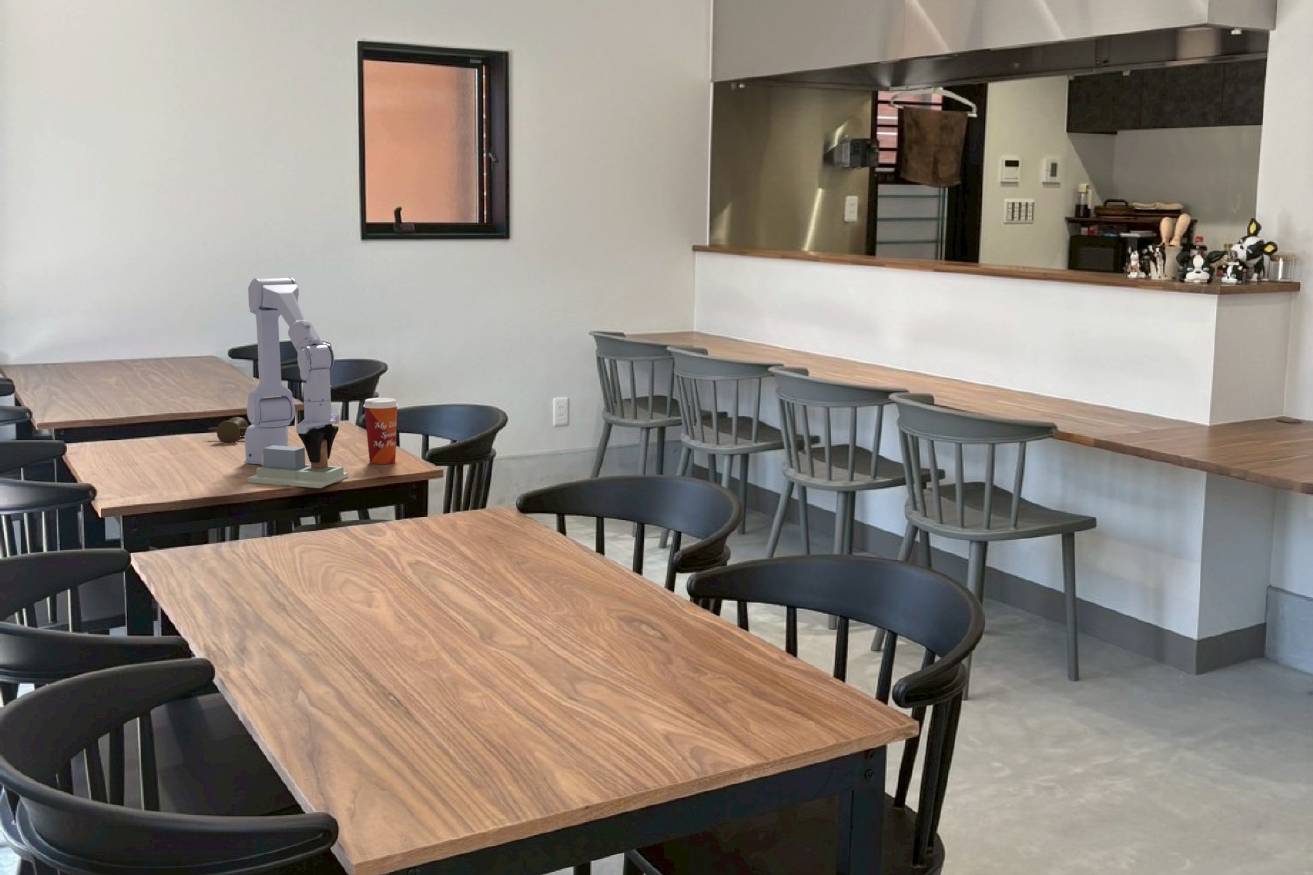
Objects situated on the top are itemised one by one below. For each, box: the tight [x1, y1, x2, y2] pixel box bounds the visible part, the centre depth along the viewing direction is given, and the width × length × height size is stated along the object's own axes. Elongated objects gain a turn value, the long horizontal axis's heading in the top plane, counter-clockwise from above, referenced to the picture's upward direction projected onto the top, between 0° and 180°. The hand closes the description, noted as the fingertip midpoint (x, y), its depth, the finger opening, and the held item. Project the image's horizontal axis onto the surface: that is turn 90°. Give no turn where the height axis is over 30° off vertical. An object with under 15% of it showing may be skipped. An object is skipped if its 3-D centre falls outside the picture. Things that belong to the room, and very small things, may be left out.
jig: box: [246, 463, 349, 489], centre depth 285 cm, size 18×12×3 cm, turn 74°
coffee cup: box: [362, 397, 399, 465], centre depth 304 cm, size 8×8×15 cm
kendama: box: [207, 416, 249, 444], centre depth 332 cm, size 6×10×20 cm
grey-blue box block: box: [260, 445, 306, 470], centre depth 286 cm, size 9×4×6 cm, turn 74°
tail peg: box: [310, 439, 329, 469], centre depth 283 cm, size 4×4×6 cm
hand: (319, 460), depth 283 cm, fingers closed on tail peg, 4 cm apart
